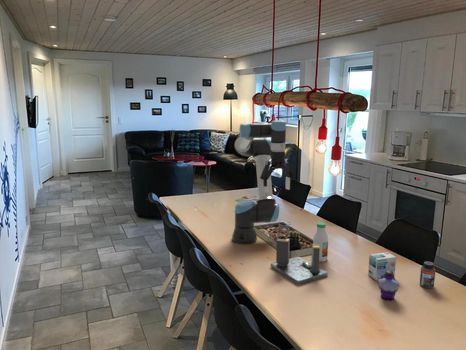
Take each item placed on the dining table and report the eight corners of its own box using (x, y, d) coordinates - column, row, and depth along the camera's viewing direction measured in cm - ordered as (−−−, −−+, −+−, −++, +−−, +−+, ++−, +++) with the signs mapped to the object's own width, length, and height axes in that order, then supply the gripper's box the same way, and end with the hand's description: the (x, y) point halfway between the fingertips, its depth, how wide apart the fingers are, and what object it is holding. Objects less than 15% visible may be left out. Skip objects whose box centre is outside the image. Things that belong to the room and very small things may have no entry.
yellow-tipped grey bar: (275, 265, 195) (276, 240, 192) (278, 261, 199) (278, 236, 196) (287, 267, 193) (288, 241, 190) (289, 263, 197) (290, 238, 194)
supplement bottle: (421, 281, 181) (423, 259, 179) (435, 285, 178) (437, 262, 175) (417, 286, 177) (420, 263, 175) (432, 290, 173) (434, 266, 171)
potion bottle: (380, 290, 173) (382, 265, 171) (400, 296, 168) (403, 270, 166) (373, 298, 167) (375, 272, 165) (394, 304, 162) (396, 278, 159)
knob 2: (309, 268, 191) (310, 242, 189) (319, 268, 191) (320, 242, 188) (310, 273, 185) (311, 247, 183) (320, 274, 185) (321, 247, 182)
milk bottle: (316, 262, 202) (318, 226, 198) (310, 257, 210) (311, 221, 206) (330, 261, 204) (331, 225, 200) (322, 255, 212) (324, 220, 208)
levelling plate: (270, 267, 197) (270, 260, 197) (298, 259, 206) (298, 253, 205) (298, 285, 179) (298, 277, 178) (327, 276, 187) (327, 268, 187)
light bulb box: (375, 280, 182) (377, 259, 180) (367, 274, 189) (368, 254, 187) (395, 278, 185) (397, 256, 183) (386, 272, 192) (387, 251, 189)
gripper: (261, 153, 190) (261, 195, 194) (301, 149, 202) (300, 189, 206) (253, 151, 197) (253, 192, 201) (292, 148, 209) (291, 186, 213)
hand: (277, 190), depth 204 cm, fingers open, 13 cm apart
